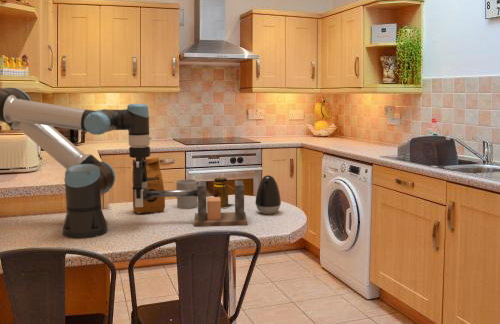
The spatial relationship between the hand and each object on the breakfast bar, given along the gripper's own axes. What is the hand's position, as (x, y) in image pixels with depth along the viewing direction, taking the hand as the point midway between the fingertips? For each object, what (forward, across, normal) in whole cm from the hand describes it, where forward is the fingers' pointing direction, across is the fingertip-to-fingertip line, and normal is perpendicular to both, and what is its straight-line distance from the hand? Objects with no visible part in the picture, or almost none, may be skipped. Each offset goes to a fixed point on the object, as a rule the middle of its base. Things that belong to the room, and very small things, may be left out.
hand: (141, 202), depth 203 cm
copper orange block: (+8, +25, -30) cm, 40 cm away
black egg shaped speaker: (+8, +11, -48) cm, 50 cm away
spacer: (+6, 0, -27) cm, 28 cm away
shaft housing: (+8, 0, -29) cm, 30 cm away
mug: (+8, +27, -16) cm, 32 cm away
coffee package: (+8, +18, 0) cm, 20 cm away
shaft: (-1, 0, -10) cm, 10 cm away
